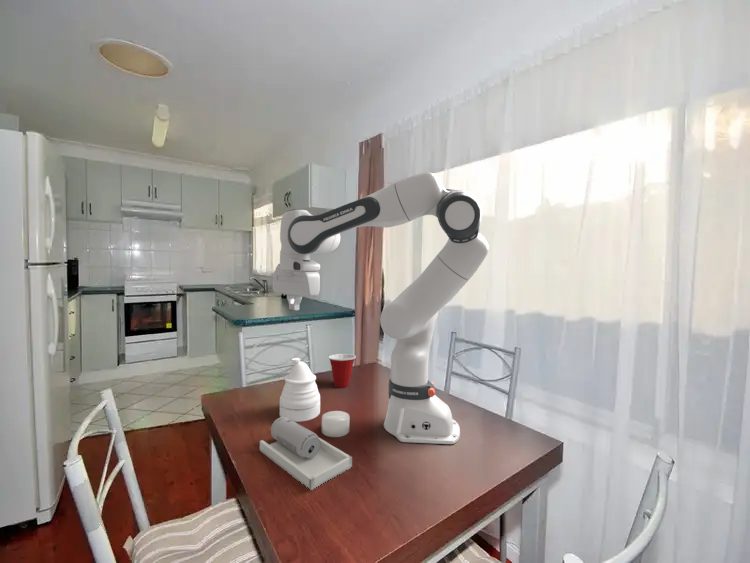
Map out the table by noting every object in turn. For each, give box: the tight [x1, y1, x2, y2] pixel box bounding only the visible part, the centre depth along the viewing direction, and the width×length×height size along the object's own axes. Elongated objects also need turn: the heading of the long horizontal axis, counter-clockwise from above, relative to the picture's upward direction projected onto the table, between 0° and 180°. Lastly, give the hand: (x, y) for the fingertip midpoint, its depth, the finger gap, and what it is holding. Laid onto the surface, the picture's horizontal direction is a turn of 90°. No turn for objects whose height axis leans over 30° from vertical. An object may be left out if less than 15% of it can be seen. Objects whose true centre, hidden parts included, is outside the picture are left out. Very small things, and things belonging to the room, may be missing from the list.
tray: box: [259, 436, 353, 491], centre depth 85 cm, size 22×12×2 cm, turn 47°
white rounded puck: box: [321, 410, 351, 438], centre depth 100 cm, size 8×8×4 cm
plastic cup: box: [328, 353, 357, 389], centre depth 136 cm, size 11×11×12 cm
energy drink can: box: [270, 416, 320, 458], centre depth 89 cm, size 6×6×15 cm
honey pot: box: [279, 357, 321, 423], centre depth 111 cm, size 13×13×18 cm
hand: (294, 309), depth 105 cm, fingers closed
